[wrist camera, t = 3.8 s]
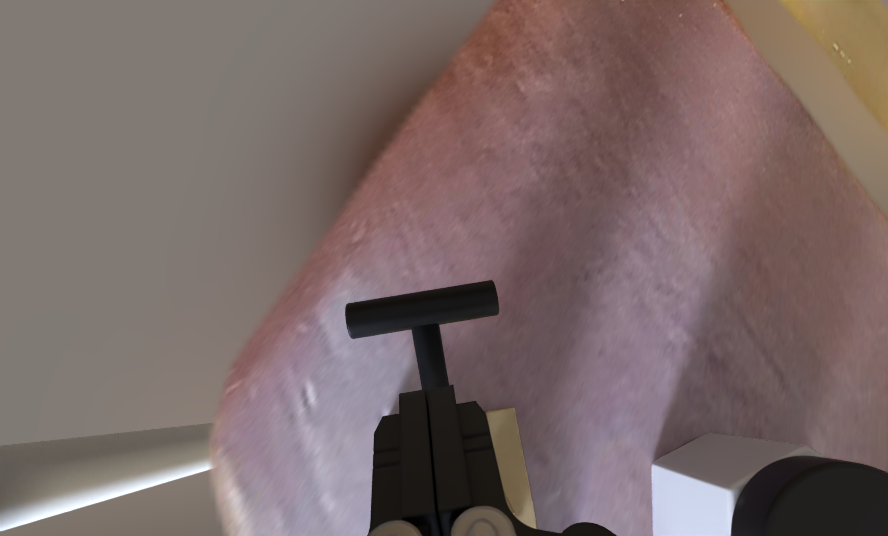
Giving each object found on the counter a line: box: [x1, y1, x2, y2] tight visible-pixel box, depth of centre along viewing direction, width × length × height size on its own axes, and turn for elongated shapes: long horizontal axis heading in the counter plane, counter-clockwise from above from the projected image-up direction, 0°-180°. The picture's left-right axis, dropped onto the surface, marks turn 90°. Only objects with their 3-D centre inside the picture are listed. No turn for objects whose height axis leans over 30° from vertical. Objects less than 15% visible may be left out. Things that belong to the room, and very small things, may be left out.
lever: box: [345, 280, 499, 403], centre depth 20 cm, size 14×6×2 cm, turn 9°
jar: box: [651, 432, 888, 536], centre depth 25 cm, size 9×8×12 cm
